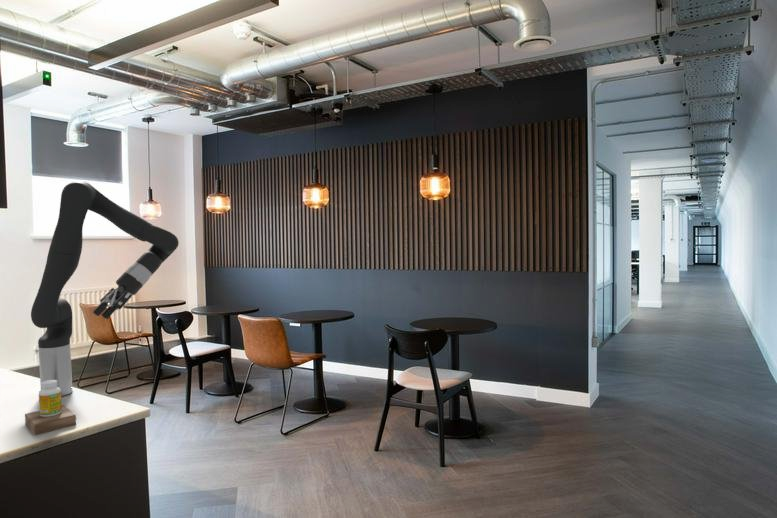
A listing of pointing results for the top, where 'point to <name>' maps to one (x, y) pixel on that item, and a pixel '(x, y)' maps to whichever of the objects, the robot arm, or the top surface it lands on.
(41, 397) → the supplement bottle
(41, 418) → the walnut riser
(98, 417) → the top surface
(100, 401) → the top surface
